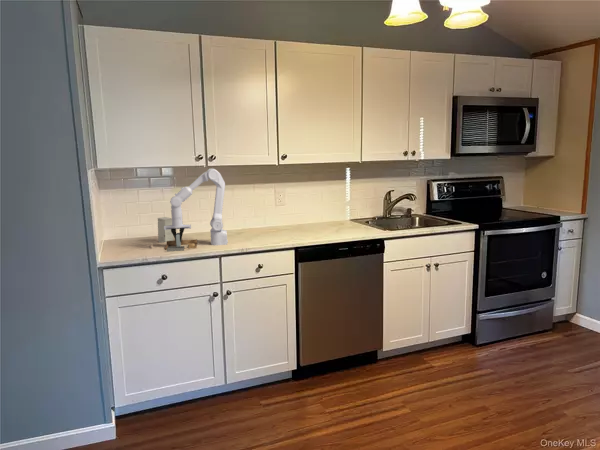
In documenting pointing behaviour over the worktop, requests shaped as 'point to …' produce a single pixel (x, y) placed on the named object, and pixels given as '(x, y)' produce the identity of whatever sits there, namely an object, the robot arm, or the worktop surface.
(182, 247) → the holder
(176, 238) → the grey flat block
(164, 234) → the skincare box
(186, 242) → the wooden tray
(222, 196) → the robot arm
